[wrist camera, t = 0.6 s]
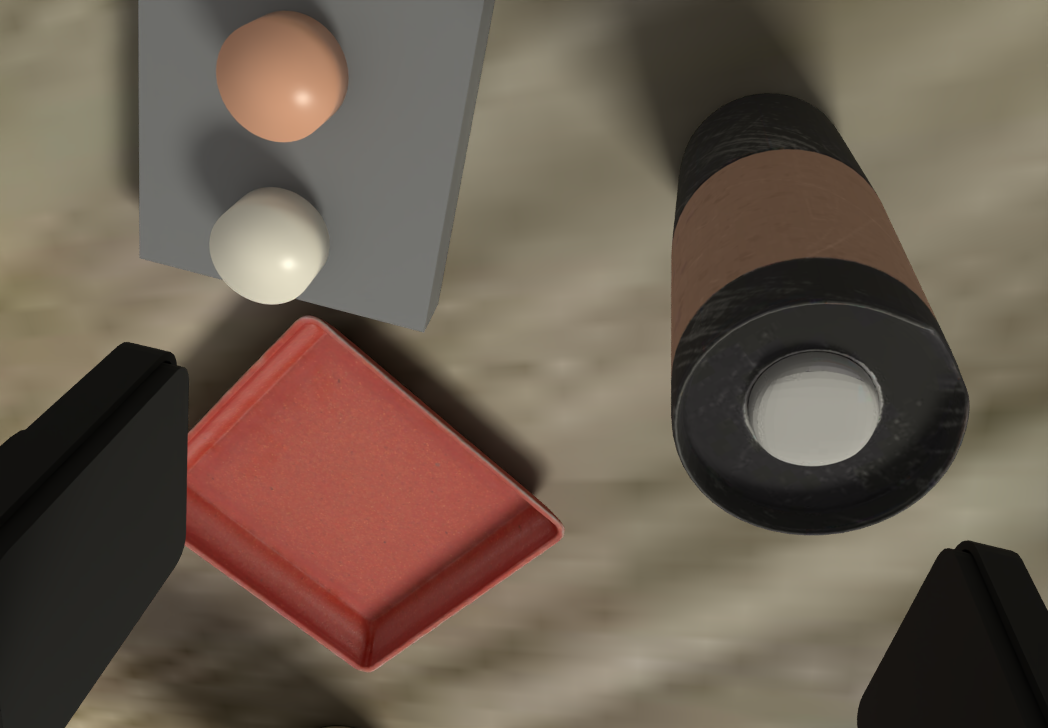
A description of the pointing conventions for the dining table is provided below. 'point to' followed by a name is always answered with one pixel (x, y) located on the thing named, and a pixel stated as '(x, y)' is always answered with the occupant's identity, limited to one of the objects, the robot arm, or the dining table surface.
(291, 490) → the plant saucer
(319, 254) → the cream button
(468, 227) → the dining table surface
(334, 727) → the plant pot
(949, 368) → the travel mug
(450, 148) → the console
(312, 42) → the terracotta button
